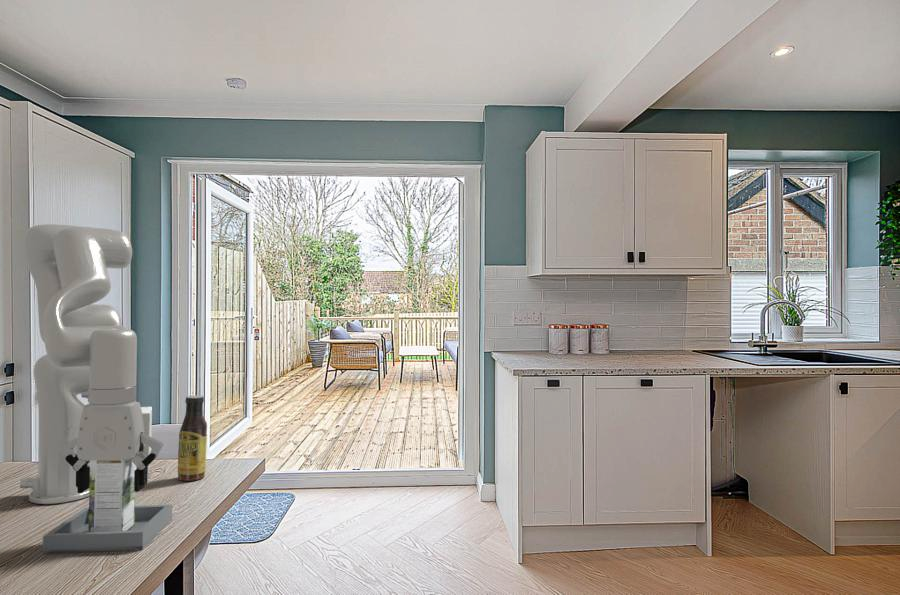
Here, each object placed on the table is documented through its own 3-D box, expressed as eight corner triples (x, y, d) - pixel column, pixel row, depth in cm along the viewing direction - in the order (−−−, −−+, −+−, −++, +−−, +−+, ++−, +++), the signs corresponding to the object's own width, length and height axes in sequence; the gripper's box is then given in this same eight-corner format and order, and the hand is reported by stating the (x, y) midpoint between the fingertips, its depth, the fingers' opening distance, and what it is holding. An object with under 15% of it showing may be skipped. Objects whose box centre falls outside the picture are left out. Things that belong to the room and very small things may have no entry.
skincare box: (123, 468, 151) (124, 407, 151) (152, 465, 153) (153, 405, 153) (119, 477, 143) (120, 413, 143) (150, 474, 145) (150, 411, 146)
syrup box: (103, 526, 109) (103, 448, 110) (136, 525, 110) (136, 448, 110) (87, 538, 104) (88, 456, 104) (122, 537, 104) (123, 455, 105)
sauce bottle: (171, 481, 139) (172, 397, 140) (189, 473, 146) (189, 393, 146) (196, 483, 138) (196, 398, 138) (212, 475, 144) (212, 394, 144)
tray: (42, 554, 99) (43, 536, 99) (85, 523, 113) (85, 507, 113) (142, 549, 101) (142, 532, 101) (172, 519, 115) (172, 504, 115)
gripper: (50, 400, 102) (49, 498, 102) (154, 399, 104) (153, 495, 104) (73, 393, 110) (72, 484, 110) (170, 392, 112) (168, 482, 112)
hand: (111, 490), depth 107 cm, fingers open, 9 cm apart
